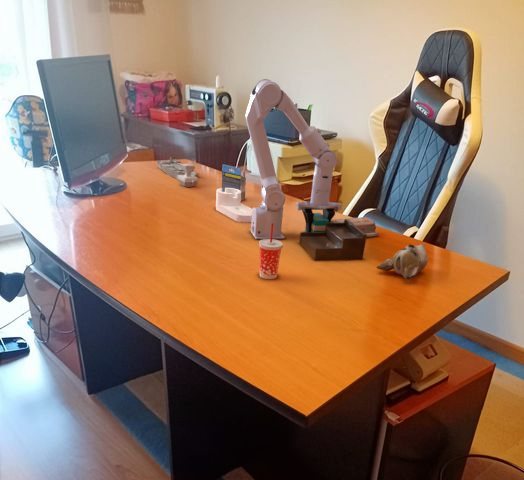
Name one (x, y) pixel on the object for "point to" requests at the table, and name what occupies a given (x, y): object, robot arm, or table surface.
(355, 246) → the step shelf
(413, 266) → the ceramic sculpture
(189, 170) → the stamp
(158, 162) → the architectural model
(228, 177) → the label tape box
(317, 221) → the block
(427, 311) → the table surface
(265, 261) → the beverage cup
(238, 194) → the bracket
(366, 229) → the packaged product
